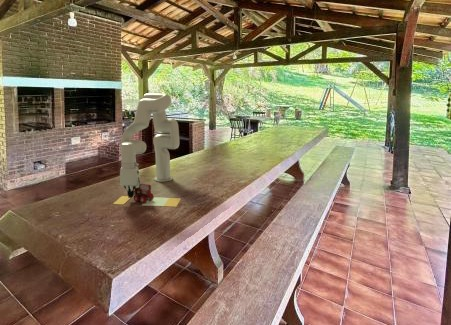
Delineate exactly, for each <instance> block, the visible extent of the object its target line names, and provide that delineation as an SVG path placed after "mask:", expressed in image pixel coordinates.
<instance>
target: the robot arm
mask: <svg viewBox="0 0 451 325" xmlns="http://www.w3.org/2000/svg"><path fill="white" fill-rule="evenodd" d="M171 102H172V97H171V96H170V94H168V93H157V92H154V93H153V92H151V93H149V92H148V93H145V94H144V95H143V97H142V99H140V100H139V101H138V104H137V107H136V111H135V115H134V120H133V122H131V124H129V125H128V126H127V128H125V130H124V131H123V133H122V135H121V138H120V144H119V148H120V158H121V160H120V161H121V167H120V170H119V171H120V172H119V184H120V187H121V188H124V189H125V191H126V192H127V196H128V198H130V199H131V198H134V189H135V188H138V187H140V186H139V185H140V184H141V176H140V174H141V173H140V169H139V165H140V164H139V163H137V156H136V155H141V154H144V153H145V152H146V150H147V143H146V142H145V141H143V140H138V139H137V140H136V139H131V138H132V137H133V135H134V134H136V133H138V132H140V131H142V130H144V129H147V128H149V126H150V125H149V124H150V122H151V116H152V122H153V128H154V131H155V132H156V133H158V134H156V135H154V137H153V139H152V140H153V146H154V147H153V148H154V153H155V154H154V155H155V177H153V179H154V181H155V182H159V183H160V182H164V183H165V182H170V181H172V180H173V179H174V178H173V176H172V175H171V160H170V159H171V158H170V157H171V155H170V152H169V150H176V149H177V150H178V148H179V146H180V130H179V123H178V121H177V119H174V118H167V113H166V112H167V111H166V110H167V109H168V108H170V106H171ZM168 149H169V150H168ZM139 183H140V184H139Z"/></svg>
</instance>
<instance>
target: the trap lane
mask: <svg viewBox="0 0 451 325" xmlns="http://www.w3.org/2000/svg"><path fill="white" fill-rule="evenodd" d="M129 200H131V198H128V195H121V196H120V197H119V198H118V199H117V200H115V201H114V202H112V205H125V204H126V203H128V201H129ZM181 200H182V198H179V197H178V198H177V197H159V196H158V197H157V196H155V197H154V198H153V200H147V202H146V203H144V204H143V203H141V206H146V207H148V206H149V207H169V208H170V207H171V208H174V207H175V208H177V207H178V205H179V203H180V201H181Z"/></svg>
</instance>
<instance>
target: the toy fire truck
mask: <svg viewBox="0 0 451 325" xmlns="http://www.w3.org/2000/svg"><path fill="white" fill-rule="evenodd" d="M139 184H140V185H139V186H140V187H138V188H135V189H134V196H133V201H134V202H135V203H138V202H140V203H141V204H144V203H146V202H147V200H153V198H154V194H153V193H152V190H151V189H152V186H151V185H150V184H148V183H147V184H146V183H141V182H140V183H139Z"/></svg>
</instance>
